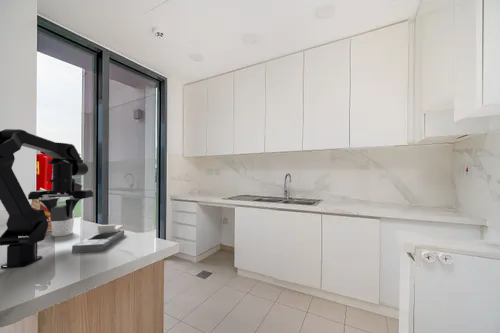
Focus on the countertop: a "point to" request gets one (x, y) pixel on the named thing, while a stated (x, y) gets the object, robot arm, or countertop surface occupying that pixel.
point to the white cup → (62, 227)
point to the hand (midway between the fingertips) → (61, 216)
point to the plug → (60, 213)
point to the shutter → (109, 228)
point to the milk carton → (39, 205)
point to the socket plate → (97, 242)
